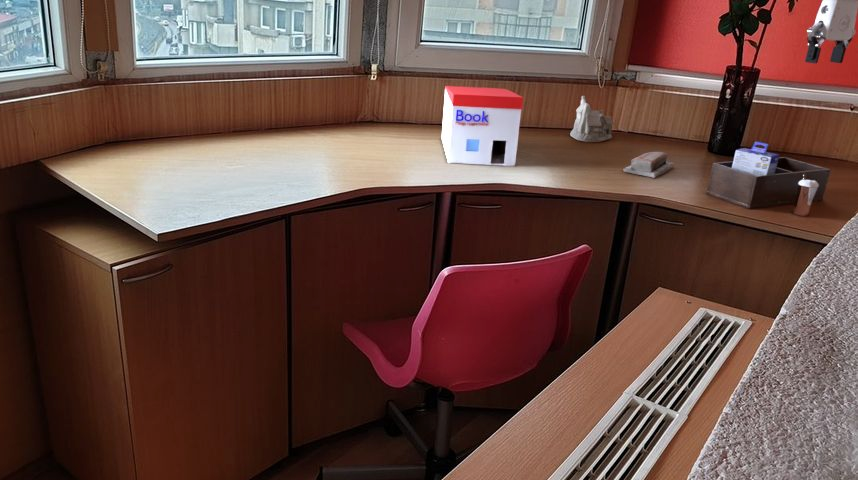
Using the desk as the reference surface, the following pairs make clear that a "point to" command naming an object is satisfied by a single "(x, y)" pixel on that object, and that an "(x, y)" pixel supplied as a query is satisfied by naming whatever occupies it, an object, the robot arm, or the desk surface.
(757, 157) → the ink cartridge box
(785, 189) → the divided storage box
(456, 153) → the bookstore
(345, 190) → the desk surface
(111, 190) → the desk surface
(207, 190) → the desk surface
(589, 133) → the ceramic cottage
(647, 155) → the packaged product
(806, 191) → the milkshake
